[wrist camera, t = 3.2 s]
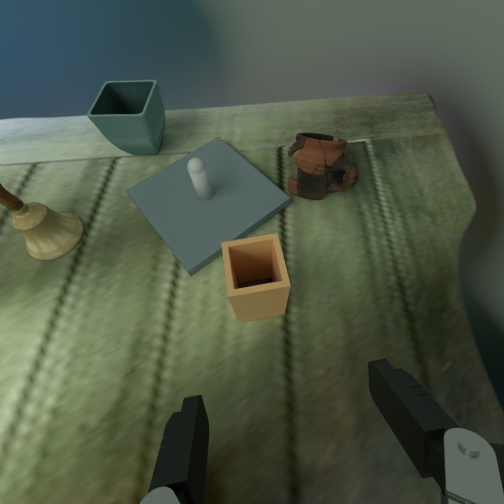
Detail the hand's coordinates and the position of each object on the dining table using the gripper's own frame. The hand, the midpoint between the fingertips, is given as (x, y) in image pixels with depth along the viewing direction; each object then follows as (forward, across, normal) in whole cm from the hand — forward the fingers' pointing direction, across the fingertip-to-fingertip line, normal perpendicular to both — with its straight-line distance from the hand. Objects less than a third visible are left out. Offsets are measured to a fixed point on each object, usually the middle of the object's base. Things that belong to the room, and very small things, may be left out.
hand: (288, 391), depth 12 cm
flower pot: (+43, -15, +18) cm, 49 cm away
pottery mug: (+32, +13, +7) cm, 36 cm away
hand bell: (+31, -28, +6) cm, 42 cm away
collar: (+20, 0, -5) cm, 21 cm away
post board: (+32, -5, +7) cm, 33 cm away
